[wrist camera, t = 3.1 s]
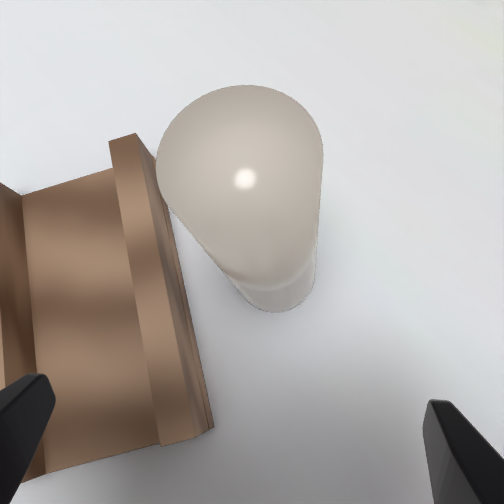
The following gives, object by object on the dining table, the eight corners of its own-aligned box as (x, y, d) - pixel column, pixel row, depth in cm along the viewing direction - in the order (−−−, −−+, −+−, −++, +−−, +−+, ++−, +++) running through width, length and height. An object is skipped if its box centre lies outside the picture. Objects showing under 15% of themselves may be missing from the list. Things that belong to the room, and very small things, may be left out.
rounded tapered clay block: (330, 267, 23) (358, 139, 10) (280, 329, 22) (246, 272, 10) (270, 221, 24) (229, 59, 11) (221, 279, 23) (122, 173, 11)
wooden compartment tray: (214, 427, 21) (196, 437, 18) (-102, 512, 22) (-176, 537, 19) (158, 163, 26) (136, 132, 23) (-98, 241, 27) (-156, 222, 23)
